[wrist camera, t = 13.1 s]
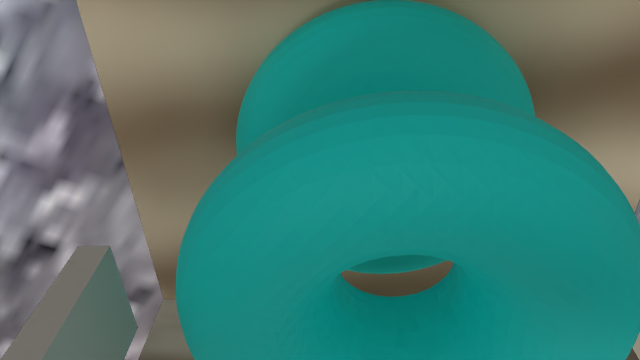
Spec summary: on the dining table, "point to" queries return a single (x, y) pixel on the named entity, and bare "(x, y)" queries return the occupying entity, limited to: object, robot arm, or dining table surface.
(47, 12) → the dining table surface
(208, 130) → the display stand
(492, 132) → the donuts
